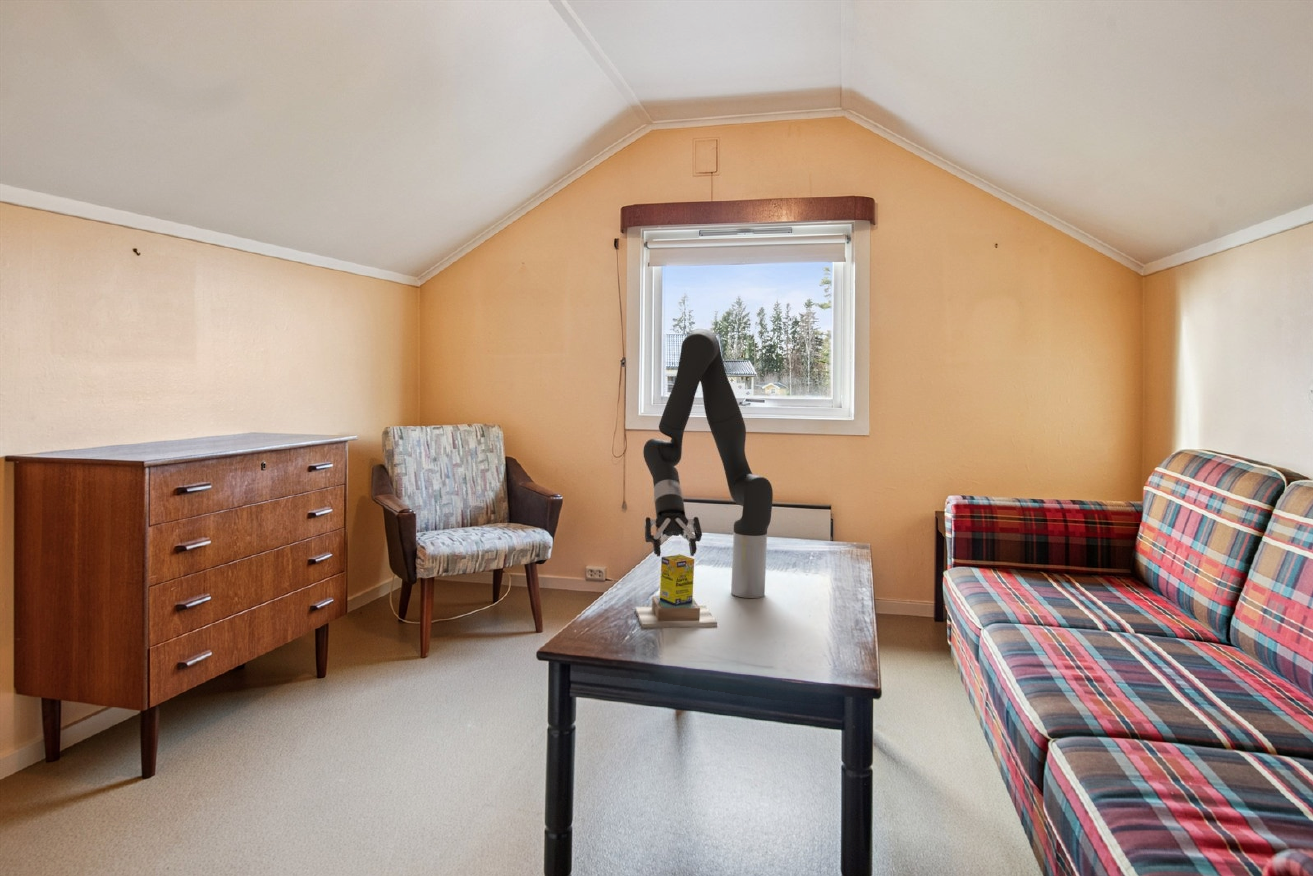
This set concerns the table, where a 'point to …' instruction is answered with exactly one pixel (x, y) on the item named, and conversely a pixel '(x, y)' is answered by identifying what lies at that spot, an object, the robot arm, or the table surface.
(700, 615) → the board
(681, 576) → the supplement box
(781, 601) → the table surface
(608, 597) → the table surface
